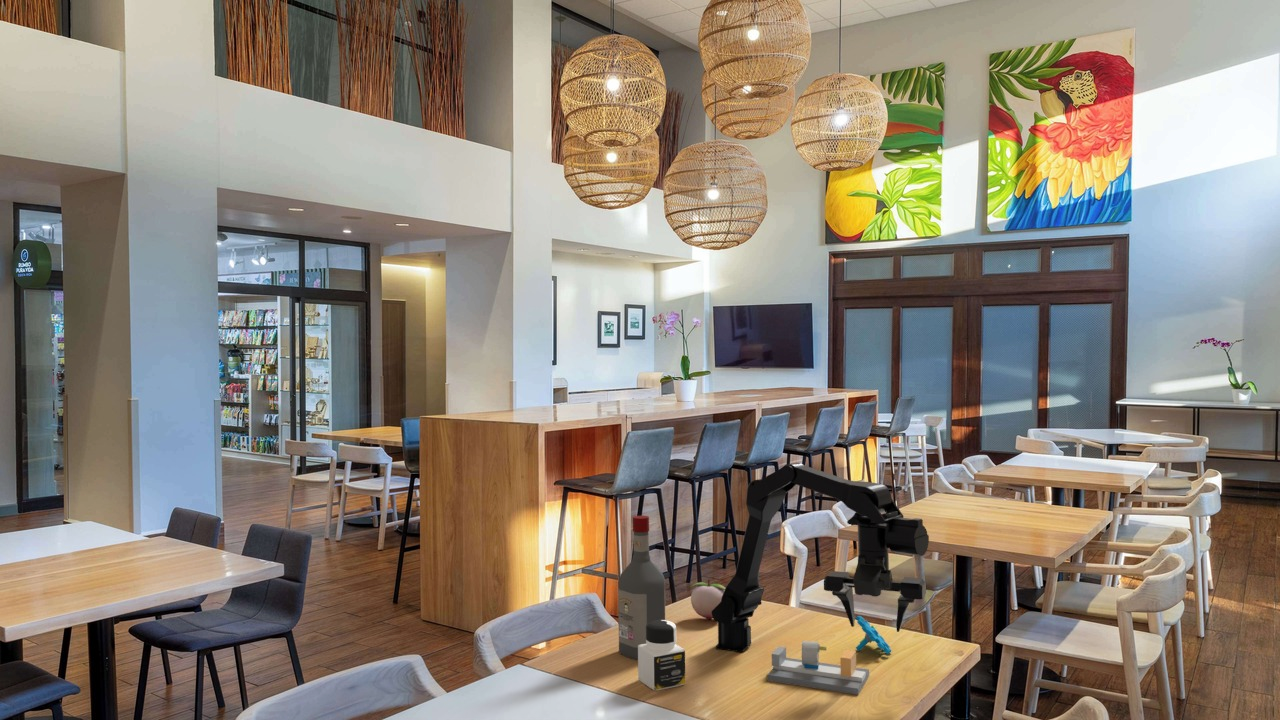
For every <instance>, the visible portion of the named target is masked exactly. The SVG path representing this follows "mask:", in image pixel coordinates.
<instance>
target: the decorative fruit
mask: <svg viewBox="0 0 1280 720" xmlns="http://www.w3.org/2000/svg"><path fill="white" fill-rule="evenodd" d="M710 582H711V581H710V579H708V582H707V583H706V582H704V581H703V582H701V581H700V582H696V583H694V584H692V585H691V586H690V588H693V587H694V588H693V589H692V592H691V595H690V602H691V603H690V604H691V606H692V609H693V610H694V612H695V613H696V614H697V615H699V616H700V617H703V618H704V619H707V620H708V619H710V620H713V616H712V610H713V609H714V608H715V607H716V606H717V605H718V604H719V603H720V602H721V598H722V595H723V593H724V591H725V588H726V586H724V585H723V584H719V583H711V584H710Z"/></svg>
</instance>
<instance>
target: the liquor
mask: <svg viewBox="0 0 1280 720" xmlns="http://www.w3.org/2000/svg"><path fill="white" fill-rule="evenodd" d="M632 532H633V555H632V558H631V559H632V560H631V562H630V563H628V565H627V566H626V567H625V568H624V570H623V571H622V572H621V574H620V575H619V578H618V582H617V591H618V592H617V593H618V595H617V596H618V597H617V599H618V603H617V604H618V609H617V610H618V651H619V654H620V655H621V656H624V657H626V658H629V659H631V660H634V661H638V645H641V644H646V625H647V624H648V623H650V622H652V621H655V620H666V579H665V576H664V573H663V572H662V571H661V570H660V569H659V568H658V567H657V566H656V565H655V563H654V562H653V561H652V559H651V555H650V543H649V541H650V539H649V535H650V534H649V532H650V517H649V516H648V515H633V516H632Z"/></svg>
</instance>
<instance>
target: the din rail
mask: <svg viewBox="0 0 1280 720" xmlns="http://www.w3.org/2000/svg"><path fill="white" fill-rule="evenodd" d="M771 666H772V669H771V670H770V671H769V672H768V673H767V674H766V675H767V678H766V679H767V682H775V683H779V684H780V683H781V684H787V685H794V686H799V687H806V688H812V689H820V690H825V691H831V692H837V693H844V694H849V695H856V696H859V694H860V693H861V691H862V689H863V688H864V686H865V683H866V682H867V680H868V678H869V677H870V669H868V668H867V669H866V668H862V667H856V670H855V672H854V673H853V675H852V676H851V677H846V676H841V664H840V665H839V664H835V663H828V662H827V663H825V662H821V661H820V662H819V667H818V669H811V668H804V665H802V659H799V658H792V657H787V647H786V646H781V645H780V646H777V647H776V648H775V649H774V651H772V653H771Z"/></svg>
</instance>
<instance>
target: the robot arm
mask: <svg viewBox="0 0 1280 720" xmlns="http://www.w3.org/2000/svg"><path fill="white" fill-rule="evenodd" d="M796 486H798V487H799V486H800V487H803V488H805V489H807V490H811V491H813V492H817V493H819V494H822V495H825V496H827V497H829V498H833V499H835V500H838V501H840V502H842V503H843V504H844V505H845V506H846V508H848V509H849V510H851V511H852V512H854V514H853V516H852V517H850V518H849V519H848V520H847V521H846V522H847V525H853V526H857V552H858V554H857V555H858V556H857V565H856V568H855V572H854V576H853V577H850V574H849V572H846V571H834V570H831V571H830V572H829V573H828V574H827V575H826V576H825V577H824V578H823V591H826V592H831V594H832V596H835V597H837V598H838V599H839V600H840V602H841V604H842V606H843V608H844V610H845V613H846V616H847V619H848V621H849V624H850V626H851V627H852V628H853V627H855V624H856V619H855V618H856V617H855V615H856V614H855V604H854V601H855V600H854V594H856V595H858V596H863V595H866V596H871V597H876V598H877V597H879V596H881V594H882V591H886V592H887V591H889V592H898V593H899V597H898V598H897V612H896V613H897V615H896V626H895V627H896V632H898V633H900V630H901V627H902V624H903V621H904V617H905V615H906V612H907V610H908V606H909V604H913V603H915V602H916V600H923V599H924V596H925V595H926V593H927V586H926V585H927V584H926V581H925V580H924V579H923V578H922V577H921V578H919V577H907V576H904V577H903V578H902V579H901V581H896V580H893V574H892V570H890V569H889V568H890V567H889V566H890V563H889V561H890V560H889V550H890V551H891V552H893V553H898V554H904V555H912V556H919V557H922V556H924V555H925V554H926V553H927V551H928V548H929V541H930V538H929V537H930V536H929V534H928V532H927V529H926V527H925V526H924V525H923V523H924V522H923V519H922V518H917V517H916V518H907V517H906V518H905V517H904V514H903V513H902V511H901V510H900V509H899V507H898V506H897V504H896V502H895V501H894V500H893V498H892V495H891V492H890V491H889V488H888V487H887V486H886V484H882V483H879V482H872V481H871V482H869V481H862V480H861V481H857V480H849V479H846V478H843V477H840V476H837V475H834V474H831V473H828V472H825V471H822V470H819V469H816V468H813V467H810V466H807V465H804V464H803V463H801V462H793V463H792V462H791V463H787V464H784V466H782V467H780V468H779V469H778V470H776V471H773V473H770V474H769V475H766V476H765V477H763V478H759V479H754V480H752V481H750V482H749V484H748V486H747V488H746V499H745V500H746V501H745V505H746V508H747V512H748V515H749V516H748V519H747V523H746V528H745V532H744V536H743V541H742V545H741V549H740V553H739V557H738V561H737V566H736V571H735V573H734V575H733V576H732V578H731V579H730V580H729V582H728V583H727V585H726V586H725V591H724V593H723V595H722V598H721V602H720V603H719V604H718V605H717V606H716V607H715V608H714V609H713V610H712V616H713V618H712V620H713V622H716V623H717V639H718V640H717V644H716V645H715V649H718V650H726V651H732V652H739V653H742V652H744V651H745V650H747V649H748V648H749V647H750V645H752V625H750V624H749V622H750V620H749V618H752V617H753V615H754V613H755V610H757V608H758V607H759V606H760V605H762V597H763V595H764V592H765V588H764V587H762V586H760V585H759V581H758V575H759V572H760V567H761V563H762V559H763V556H764V551H765V547H766V542H767V539H768V535H769V530H770V526H771V523H772V519H773V518H774V517H775V515H776V514H777V513H778V511H779V510H780V508H781V507H782V504H783V503H784V500H785V498H786V494H787V493H788V492H790V491H791V490H793V489H794V488H795V487H796ZM853 589H854V590H853ZM853 591H854V592H853Z"/></svg>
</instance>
